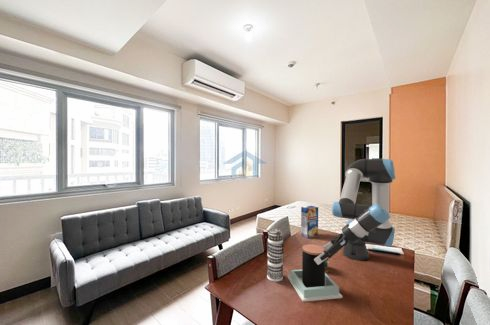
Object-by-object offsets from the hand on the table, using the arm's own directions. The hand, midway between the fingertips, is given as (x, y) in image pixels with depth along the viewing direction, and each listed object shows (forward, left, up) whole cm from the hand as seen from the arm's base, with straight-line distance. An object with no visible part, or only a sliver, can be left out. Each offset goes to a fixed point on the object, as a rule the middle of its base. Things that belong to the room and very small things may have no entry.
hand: (319, 256), depth 100 cm
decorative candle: (+18, -13, -16) cm, 28 cm away
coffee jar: (+2, -2, -15) cm, 16 cm away
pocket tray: (+2, -2, -16) cm, 16 cm away
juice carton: (-29, -69, -16) cm, 77 cm away
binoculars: (-10, -18, -16) cm, 26 cm away
